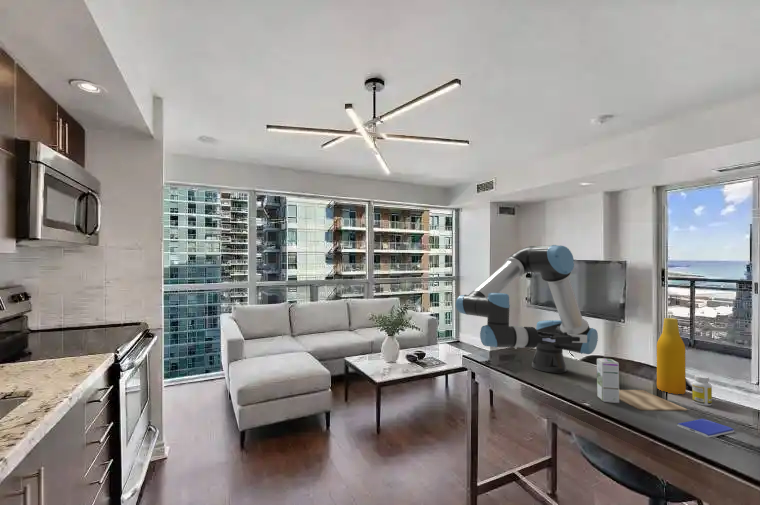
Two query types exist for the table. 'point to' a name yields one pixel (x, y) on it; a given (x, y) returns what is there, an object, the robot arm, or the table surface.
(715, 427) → the hard drive
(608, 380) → the syrup box
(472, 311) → the robot arm
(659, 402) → the wooden board
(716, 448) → the table surface
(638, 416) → the table surface
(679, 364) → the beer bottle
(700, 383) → the supplement bottle
